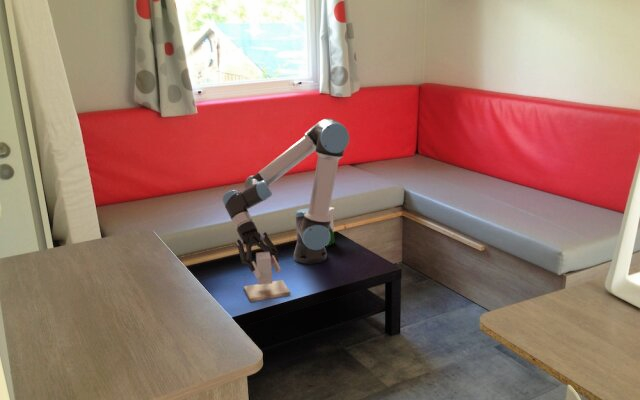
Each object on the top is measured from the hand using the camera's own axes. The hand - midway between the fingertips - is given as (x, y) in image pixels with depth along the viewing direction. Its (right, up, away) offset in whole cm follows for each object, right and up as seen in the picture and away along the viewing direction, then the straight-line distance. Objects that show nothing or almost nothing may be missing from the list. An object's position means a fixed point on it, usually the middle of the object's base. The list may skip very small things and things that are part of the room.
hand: (269, 274), depth 214 cm
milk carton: (+22, +7, +54) cm, 59 cm away
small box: (-2, -3, +4) cm, 5 cm away
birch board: (-1, -8, +5) cm, 9 cm away
